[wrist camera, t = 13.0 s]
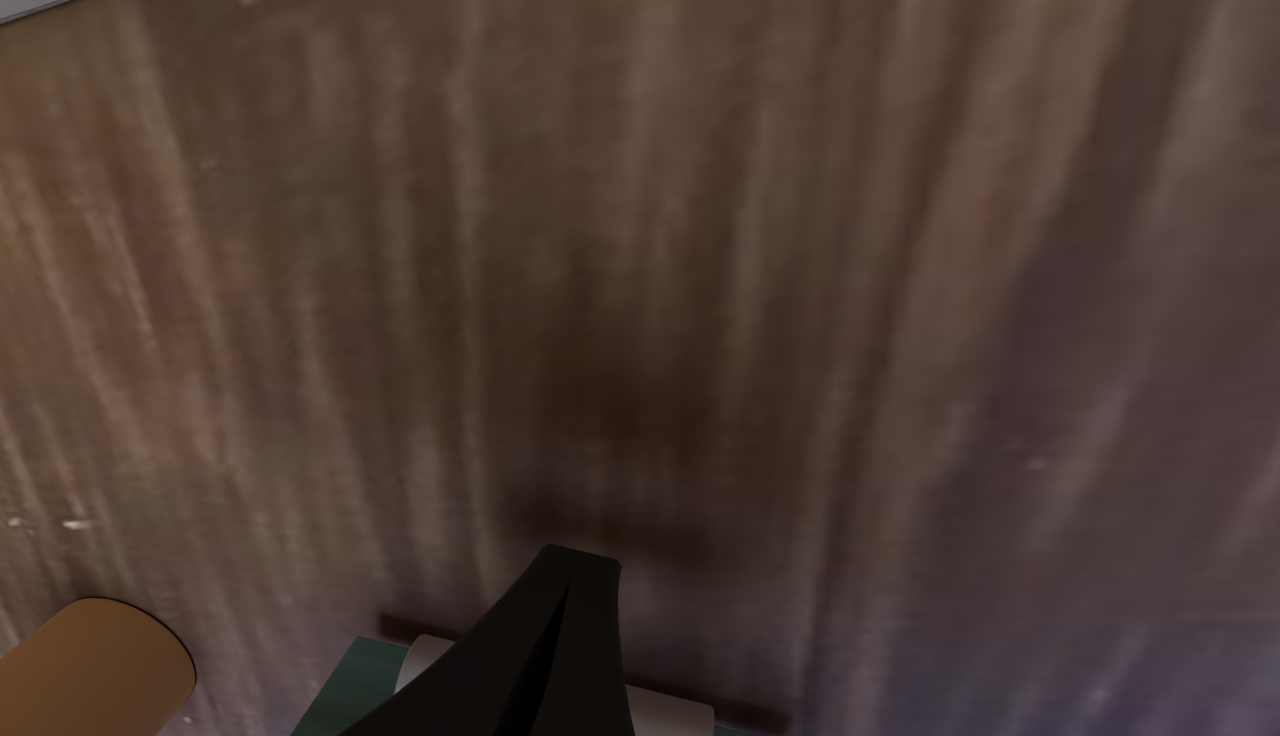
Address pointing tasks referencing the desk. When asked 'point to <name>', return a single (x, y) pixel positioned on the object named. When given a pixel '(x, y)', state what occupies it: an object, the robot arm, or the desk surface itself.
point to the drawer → (378, 670)
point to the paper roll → (94, 674)
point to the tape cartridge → (24, 8)
